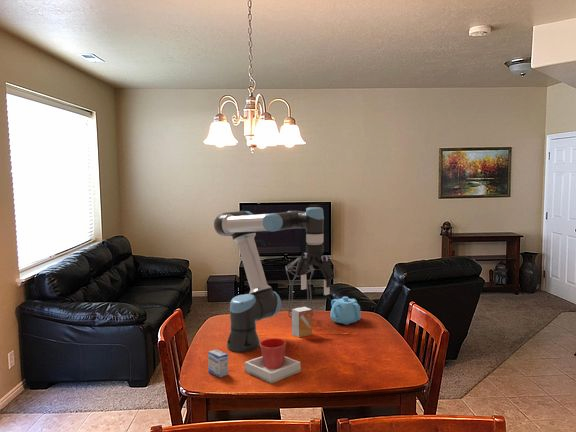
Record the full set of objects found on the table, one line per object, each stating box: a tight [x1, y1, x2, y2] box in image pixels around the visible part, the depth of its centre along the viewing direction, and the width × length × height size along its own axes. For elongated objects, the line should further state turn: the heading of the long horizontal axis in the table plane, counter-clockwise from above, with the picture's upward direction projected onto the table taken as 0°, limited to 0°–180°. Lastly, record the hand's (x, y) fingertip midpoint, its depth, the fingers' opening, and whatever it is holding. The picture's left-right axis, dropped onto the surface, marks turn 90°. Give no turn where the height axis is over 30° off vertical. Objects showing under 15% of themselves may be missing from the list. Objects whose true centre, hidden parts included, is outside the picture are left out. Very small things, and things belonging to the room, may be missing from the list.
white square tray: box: [244, 355, 302, 384], centre depth 199 cm, size 16×16×4 cm
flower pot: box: [259, 338, 287, 369], centre depth 202 cm, size 11×11×10 cm
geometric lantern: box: [285, 257, 315, 319], centre depth 263 cm, size 16×16×35 cm
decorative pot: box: [329, 296, 362, 326], centre depth 264 cm, size 16×16×14 cm
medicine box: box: [207, 349, 229, 378], centre depth 197 cm, size 8×4×9 cm, turn 44°
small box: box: [291, 306, 313, 338], centre depth 243 cm, size 8×6×13 cm
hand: (315, 291), depth 213 cm, fingers open, 13 cm apart
